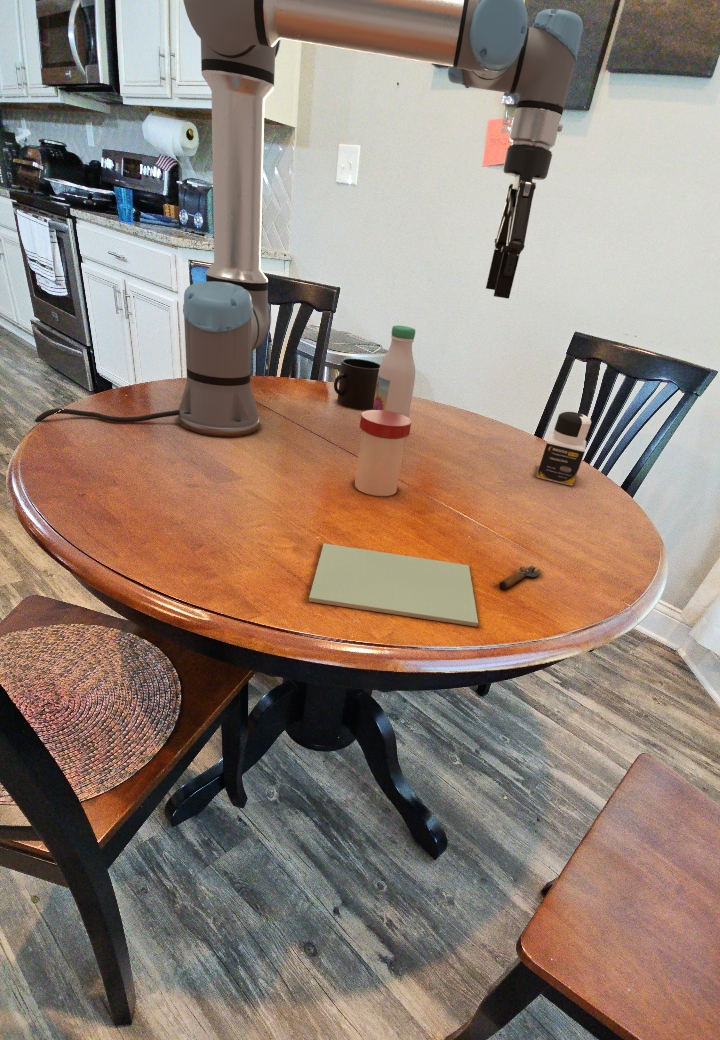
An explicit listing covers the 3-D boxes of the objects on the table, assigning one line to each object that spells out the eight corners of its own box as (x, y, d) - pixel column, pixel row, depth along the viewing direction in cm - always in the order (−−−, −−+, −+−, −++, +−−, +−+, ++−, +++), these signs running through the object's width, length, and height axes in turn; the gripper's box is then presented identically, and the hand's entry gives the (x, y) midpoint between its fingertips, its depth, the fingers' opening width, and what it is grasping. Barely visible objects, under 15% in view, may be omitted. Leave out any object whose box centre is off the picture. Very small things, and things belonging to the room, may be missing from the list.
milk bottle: (406, 428, 129) (423, 327, 117) (405, 439, 123) (423, 333, 111) (371, 422, 129) (385, 321, 117) (368, 433, 123) (383, 327, 111)
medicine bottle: (535, 477, 114) (555, 414, 107) (539, 466, 119) (558, 406, 112) (572, 486, 112) (595, 423, 105) (574, 475, 118) (596, 414, 111)
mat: (308, 601, 68) (309, 597, 68) (323, 546, 80) (323, 542, 79) (477, 627, 69) (478, 622, 68) (468, 568, 80) (469, 565, 80)
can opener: (504, 591, 76) (506, 583, 76) (490, 583, 78) (492, 575, 77) (543, 574, 82) (546, 567, 81) (530, 567, 83) (532, 560, 82)
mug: (320, 400, 138) (324, 358, 133) (360, 397, 145) (365, 358, 139) (343, 412, 132) (348, 369, 127) (384, 409, 139) (390, 368, 134)
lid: (357, 433, 90) (359, 420, 89) (361, 418, 97) (363, 407, 95) (409, 441, 90) (411, 429, 89) (409, 426, 97) (411, 414, 96)
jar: (353, 492, 96) (361, 423, 90) (356, 476, 102) (364, 411, 95) (396, 499, 96) (408, 431, 90) (397, 482, 102) (408, 418, 96)
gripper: (569, 143, 87) (526, 304, 100) (539, 156, 107) (507, 289, 120) (519, 134, 87) (483, 297, 100) (499, 150, 107) (471, 283, 120)
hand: (496, 293), depth 110 cm, fingers open, 13 cm apart
